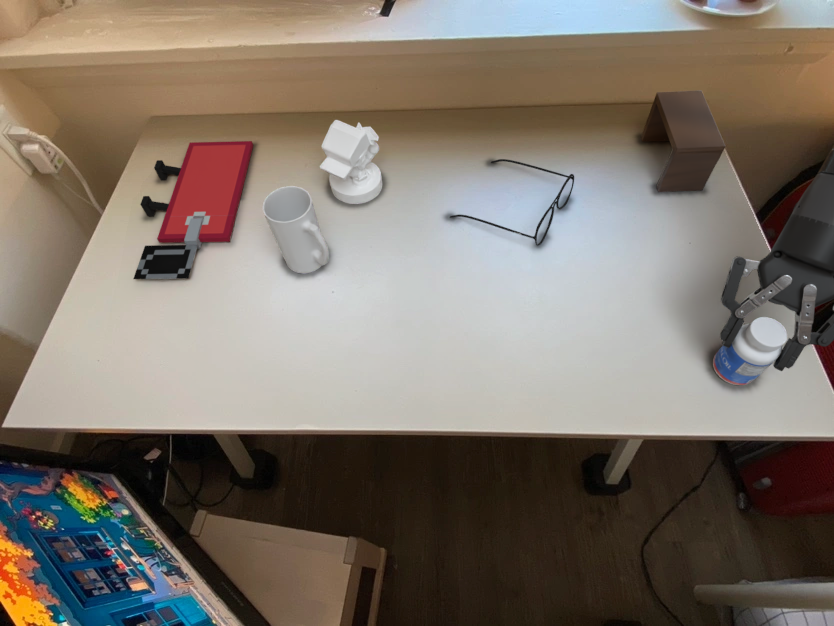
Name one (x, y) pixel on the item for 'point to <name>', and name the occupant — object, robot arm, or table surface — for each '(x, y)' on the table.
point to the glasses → (545, 212)
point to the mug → (296, 228)
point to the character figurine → (352, 162)
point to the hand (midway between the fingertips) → (751, 356)
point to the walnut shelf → (684, 139)
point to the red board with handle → (195, 206)
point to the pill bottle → (750, 351)
